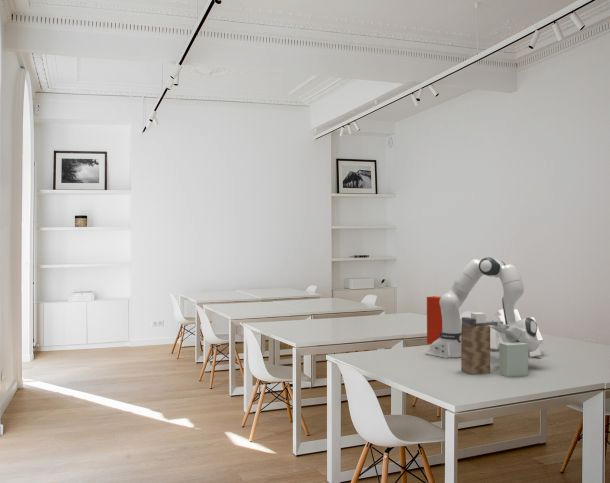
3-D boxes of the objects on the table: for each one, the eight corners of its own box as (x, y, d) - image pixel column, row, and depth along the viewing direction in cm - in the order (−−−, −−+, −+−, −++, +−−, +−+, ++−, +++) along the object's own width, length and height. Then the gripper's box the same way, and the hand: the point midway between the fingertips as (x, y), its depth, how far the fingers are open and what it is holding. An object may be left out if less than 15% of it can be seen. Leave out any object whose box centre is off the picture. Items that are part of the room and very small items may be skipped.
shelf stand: (480, 369, 319) (480, 316, 319) (490, 373, 310) (490, 318, 310) (461, 370, 315) (461, 317, 315) (470, 374, 307) (470, 319, 307)
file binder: (446, 347, 383) (446, 299, 383) (426, 343, 397) (426, 296, 397) (454, 346, 388) (454, 298, 388) (434, 342, 402) (434, 296, 402)
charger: (498, 323, 319) (498, 311, 319) (504, 325, 315) (504, 312, 315) (470, 324, 315) (470, 312, 315) (476, 326, 310) (476, 313, 310)
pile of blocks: (554, 363, 360) (545, 310, 376) (538, 350, 339) (529, 295, 355) (500, 371, 379) (493, 320, 395) (481, 360, 358) (475, 307, 375)
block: (519, 372, 311) (519, 341, 311) (527, 375, 305) (527, 344, 305) (499, 373, 308) (499, 342, 308) (507, 376, 301) (507, 345, 301)
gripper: (504, 326, 330) (486, 314, 326) (527, 331, 310) (508, 319, 307) (499, 336, 329) (481, 324, 325) (522, 342, 309) (503, 330, 306)
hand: (494, 322), depth 316 cm, fingers open, 4 cm apart
